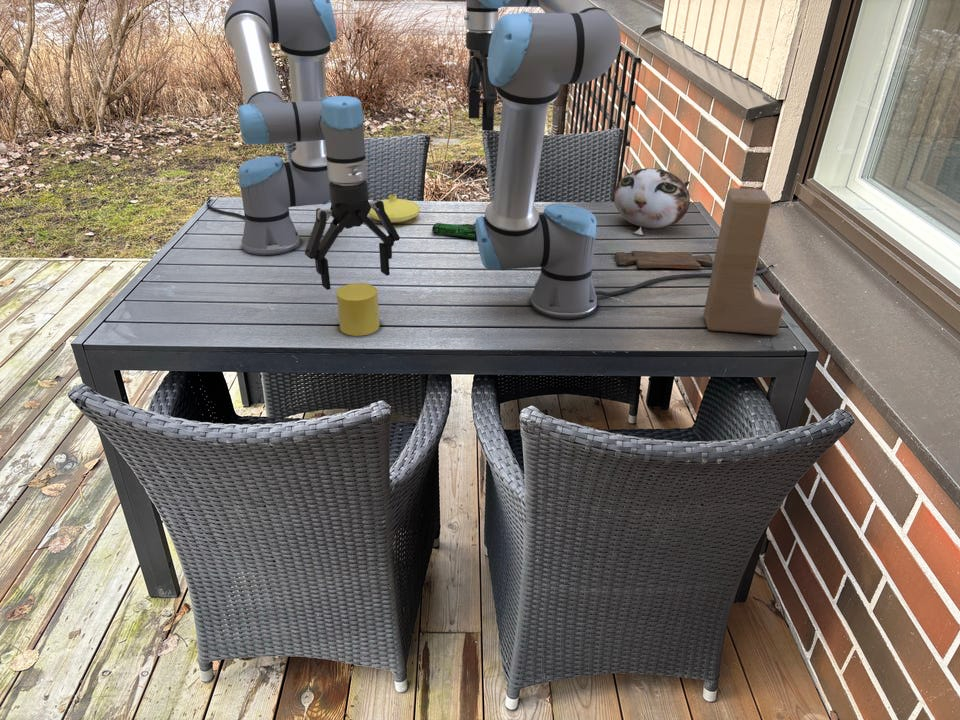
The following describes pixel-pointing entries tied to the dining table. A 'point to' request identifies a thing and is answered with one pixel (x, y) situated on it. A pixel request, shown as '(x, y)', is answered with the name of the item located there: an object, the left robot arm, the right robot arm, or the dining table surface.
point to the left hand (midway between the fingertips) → (356, 280)
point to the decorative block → (741, 269)
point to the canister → (358, 309)
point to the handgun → (456, 230)
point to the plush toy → (651, 198)
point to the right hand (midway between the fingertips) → (480, 124)
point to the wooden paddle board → (663, 259)
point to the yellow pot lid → (397, 209)
